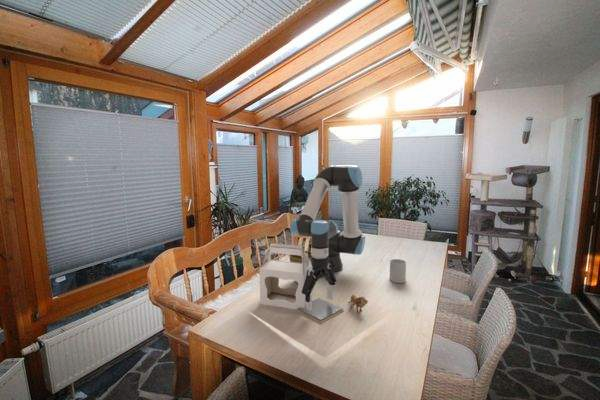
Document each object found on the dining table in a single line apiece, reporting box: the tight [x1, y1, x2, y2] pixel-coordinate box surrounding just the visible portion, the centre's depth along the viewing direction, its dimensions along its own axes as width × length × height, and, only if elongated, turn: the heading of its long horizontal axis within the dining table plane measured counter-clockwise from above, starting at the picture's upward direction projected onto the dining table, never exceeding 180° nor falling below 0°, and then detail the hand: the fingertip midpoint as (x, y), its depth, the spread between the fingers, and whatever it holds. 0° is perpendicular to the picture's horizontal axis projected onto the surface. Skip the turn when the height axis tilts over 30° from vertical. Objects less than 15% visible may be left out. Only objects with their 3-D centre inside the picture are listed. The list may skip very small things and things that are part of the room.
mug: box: [389, 258, 407, 284], centre depth 163 cm, size 12×8×11 cm
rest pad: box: [295, 298, 345, 324], centre depth 127 cm, size 15×15×1 cm
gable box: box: [258, 242, 313, 310], centre depth 136 cm, size 22×13×28 cm, turn 71°
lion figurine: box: [347, 294, 369, 314], centre depth 129 cm, size 12×4×7 cm, turn 28°
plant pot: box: [288, 250, 313, 284], centre depth 159 cm, size 15×15×16 cm
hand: (319, 303), depth 127 cm, fingers open, 13 cm apart
